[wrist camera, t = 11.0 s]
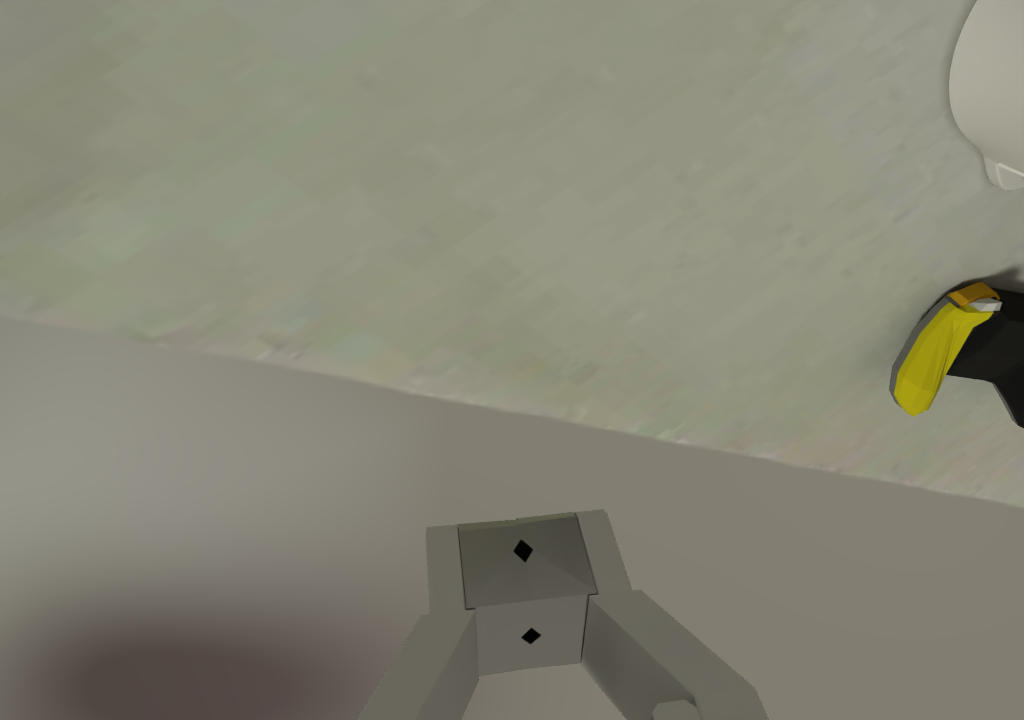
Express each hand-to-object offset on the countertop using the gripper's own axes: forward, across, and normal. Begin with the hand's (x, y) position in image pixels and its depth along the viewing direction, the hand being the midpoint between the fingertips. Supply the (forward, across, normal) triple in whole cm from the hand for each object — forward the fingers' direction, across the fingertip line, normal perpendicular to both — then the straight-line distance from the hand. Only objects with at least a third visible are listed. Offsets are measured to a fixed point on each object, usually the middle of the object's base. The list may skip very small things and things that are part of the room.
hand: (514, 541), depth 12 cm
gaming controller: (+34, -41, +22) cm, 58 cm away
